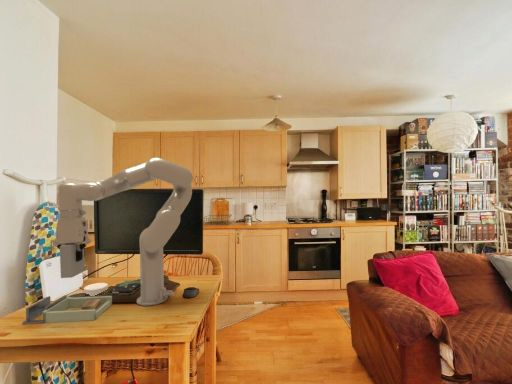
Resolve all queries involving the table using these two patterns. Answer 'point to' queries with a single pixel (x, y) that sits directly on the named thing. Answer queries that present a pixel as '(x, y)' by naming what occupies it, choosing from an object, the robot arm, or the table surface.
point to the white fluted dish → (95, 288)
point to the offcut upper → (91, 304)
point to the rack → (60, 315)
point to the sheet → (70, 261)
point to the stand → (39, 309)
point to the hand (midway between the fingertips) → (72, 260)
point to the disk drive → (126, 287)
